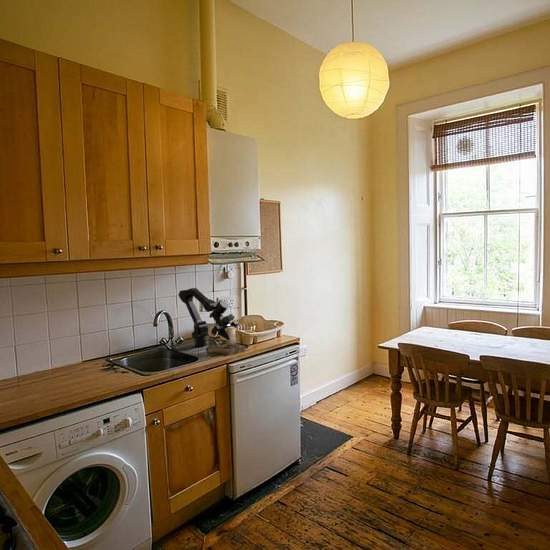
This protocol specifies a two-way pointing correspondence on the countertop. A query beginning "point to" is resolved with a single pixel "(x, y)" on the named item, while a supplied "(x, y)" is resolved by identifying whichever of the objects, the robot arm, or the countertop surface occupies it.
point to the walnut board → (229, 349)
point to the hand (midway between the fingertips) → (232, 338)
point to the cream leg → (231, 337)
